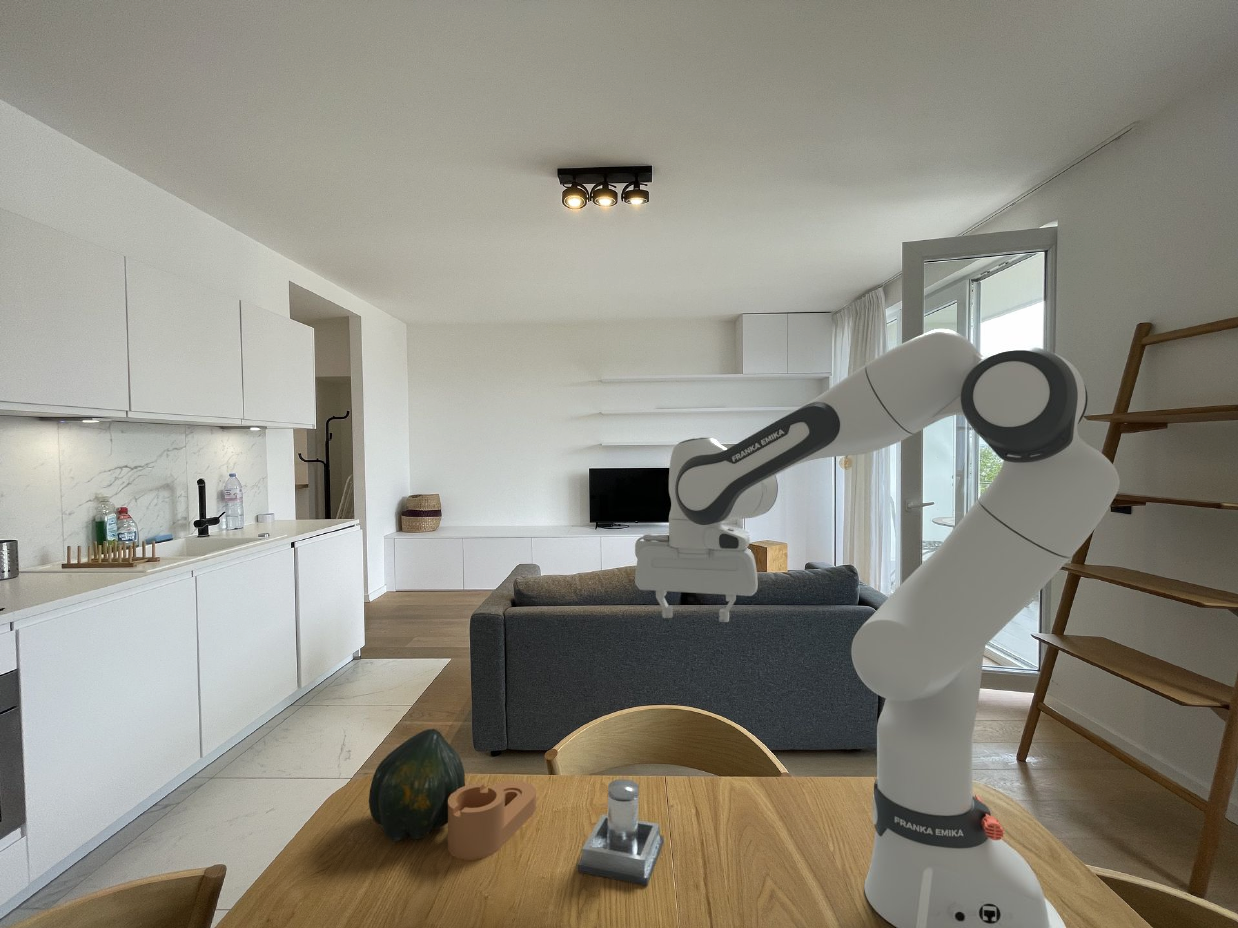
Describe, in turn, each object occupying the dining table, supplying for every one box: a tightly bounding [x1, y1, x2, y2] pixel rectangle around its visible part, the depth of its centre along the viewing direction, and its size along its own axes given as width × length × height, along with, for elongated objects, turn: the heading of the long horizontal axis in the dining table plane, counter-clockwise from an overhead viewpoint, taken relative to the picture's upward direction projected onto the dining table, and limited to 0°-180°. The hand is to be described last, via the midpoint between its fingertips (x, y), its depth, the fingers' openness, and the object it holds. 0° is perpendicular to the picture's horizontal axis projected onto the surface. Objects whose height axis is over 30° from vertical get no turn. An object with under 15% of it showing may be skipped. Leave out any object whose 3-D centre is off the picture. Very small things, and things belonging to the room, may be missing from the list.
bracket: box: [447, 780, 537, 861], centre depth 97 cm, size 18×8×7 cm, turn 159°
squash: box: [368, 727, 466, 842], centre depth 97 cm, size 14×15×15 cm
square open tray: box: [576, 813, 665, 886], centre depth 89 cm, size 10×10×3 cm
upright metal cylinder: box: [607, 778, 640, 855], centre depth 89 cm, size 4×4×9 cm
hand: (695, 619), depth 102 cm, fingers open, 8 cm apart
